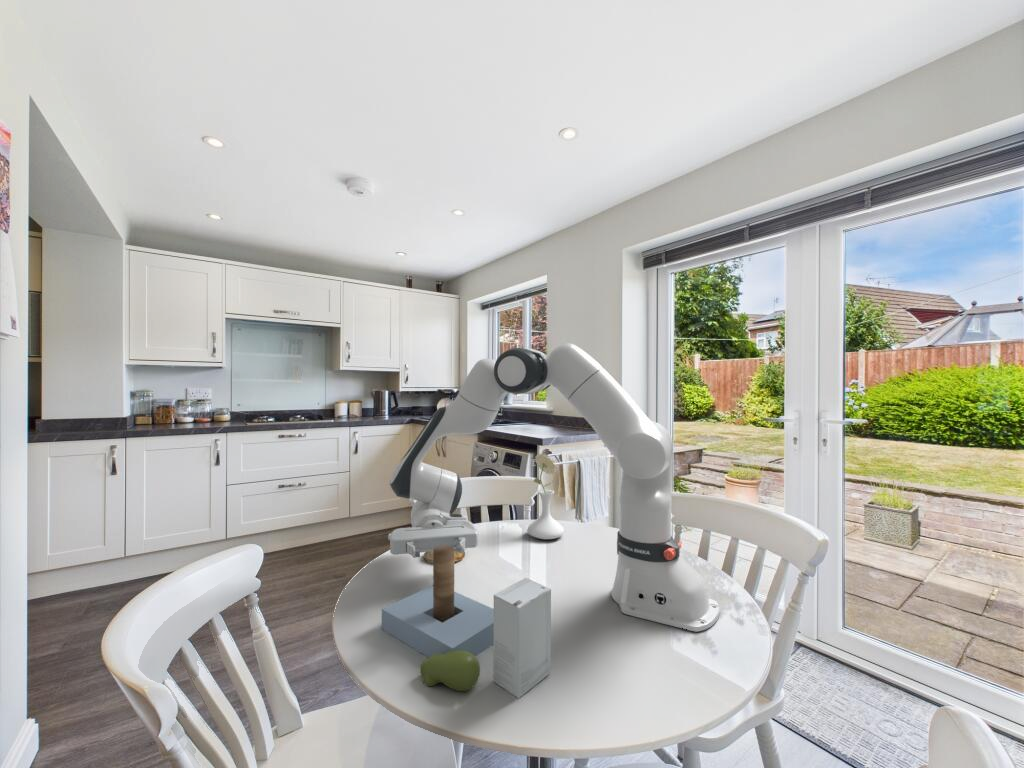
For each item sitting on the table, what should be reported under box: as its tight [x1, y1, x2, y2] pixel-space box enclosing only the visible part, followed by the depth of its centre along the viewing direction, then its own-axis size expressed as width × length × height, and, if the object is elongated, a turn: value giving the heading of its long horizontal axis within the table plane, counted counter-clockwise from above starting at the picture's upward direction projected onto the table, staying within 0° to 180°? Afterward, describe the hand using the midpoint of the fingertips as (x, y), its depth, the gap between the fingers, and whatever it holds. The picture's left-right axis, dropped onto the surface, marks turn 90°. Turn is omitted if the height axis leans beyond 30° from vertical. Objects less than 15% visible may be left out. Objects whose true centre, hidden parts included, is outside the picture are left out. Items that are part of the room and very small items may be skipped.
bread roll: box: [423, 549, 466, 564], centre depth 125 cm, size 11×11×5 cm
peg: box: [432, 546, 455, 623], centre depth 88 cm, size 4×4×16 cm
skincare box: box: [492, 577, 552, 699], centre depth 75 cm, size 8×6×15 cm
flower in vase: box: [526, 453, 565, 540], centre depth 142 cm, size 13×11×25 cm
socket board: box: [381, 585, 494, 658], centre depth 89 cm, size 20×14×4 cm
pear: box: [419, 650, 481, 692], centre depth 74 cm, size 6×5×10 cm
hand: (438, 552), depth 100 cm, fingers open, 8 cm apart
